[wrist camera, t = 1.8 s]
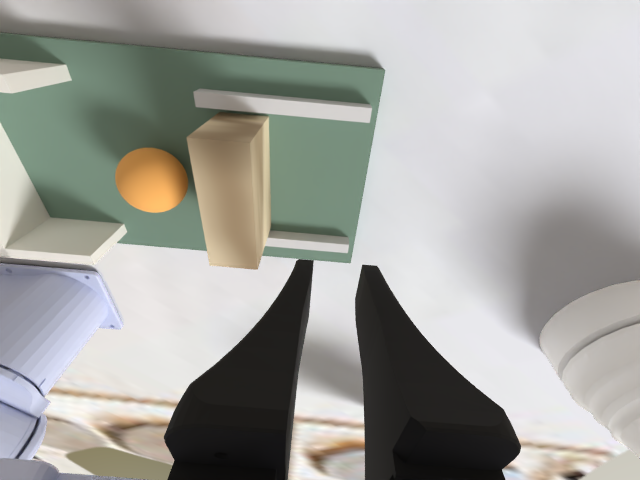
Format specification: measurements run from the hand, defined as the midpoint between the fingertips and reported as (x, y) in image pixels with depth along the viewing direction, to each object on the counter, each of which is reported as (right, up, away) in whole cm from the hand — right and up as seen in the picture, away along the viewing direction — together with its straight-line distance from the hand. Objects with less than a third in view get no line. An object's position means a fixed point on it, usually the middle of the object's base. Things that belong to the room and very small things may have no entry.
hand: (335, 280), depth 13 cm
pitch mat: (-10, +7, +8) cm, 15 cm away
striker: (-6, +6, +8) cm, 11 cm away
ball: (-11, +5, +6) cm, 14 cm away
